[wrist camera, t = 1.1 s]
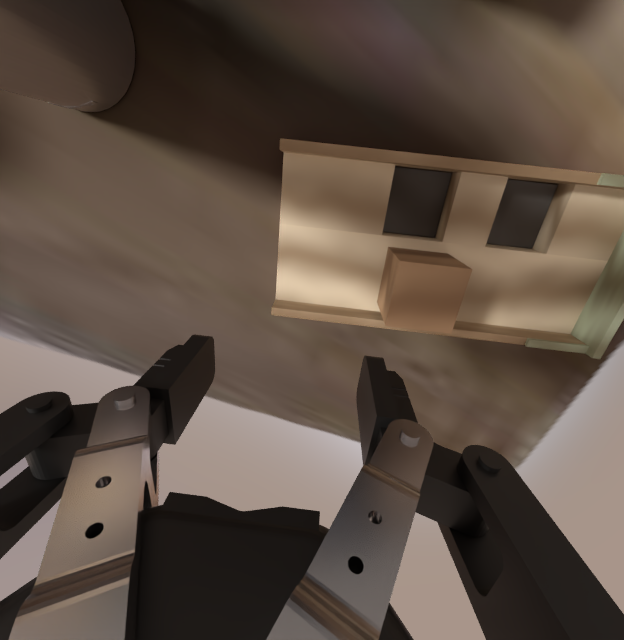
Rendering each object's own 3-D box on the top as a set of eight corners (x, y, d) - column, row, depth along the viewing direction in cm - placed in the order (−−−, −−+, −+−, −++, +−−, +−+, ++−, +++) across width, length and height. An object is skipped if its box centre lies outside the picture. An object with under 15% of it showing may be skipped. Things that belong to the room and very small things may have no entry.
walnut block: (388, 246, 26) (399, 260, 21) (447, 253, 26) (472, 269, 21) (376, 302, 28) (385, 325, 23) (432, 308, 28) (451, 333, 23)
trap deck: (287, 144, 25) (277, 136, 20) (634, 182, 24) (702, 182, 20) (278, 298, 30) (269, 319, 26) (559, 331, 30) (600, 359, 25)
